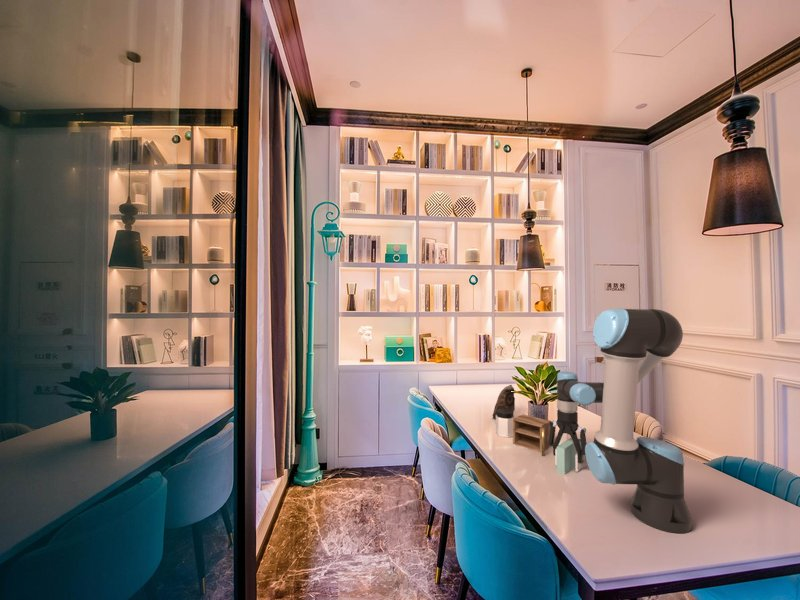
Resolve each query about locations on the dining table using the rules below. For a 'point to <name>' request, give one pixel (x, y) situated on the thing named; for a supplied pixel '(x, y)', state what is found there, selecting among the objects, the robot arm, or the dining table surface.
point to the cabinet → (530, 432)
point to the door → (566, 456)
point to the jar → (504, 423)
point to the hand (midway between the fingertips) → (567, 467)
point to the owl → (505, 400)
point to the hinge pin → (543, 441)
